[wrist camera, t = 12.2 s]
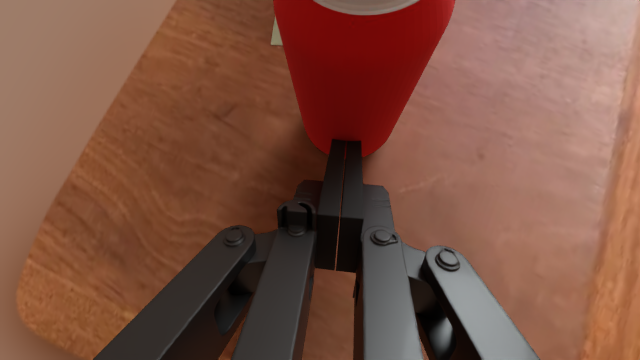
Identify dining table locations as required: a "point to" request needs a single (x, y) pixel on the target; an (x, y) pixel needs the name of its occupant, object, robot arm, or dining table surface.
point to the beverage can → (357, 62)
